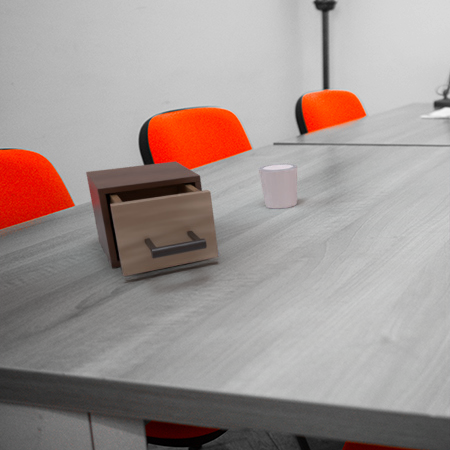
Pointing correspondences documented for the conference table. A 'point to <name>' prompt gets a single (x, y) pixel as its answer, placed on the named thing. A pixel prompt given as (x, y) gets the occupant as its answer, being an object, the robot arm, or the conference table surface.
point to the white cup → (279, 185)
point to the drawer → (162, 227)
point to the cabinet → (129, 181)
